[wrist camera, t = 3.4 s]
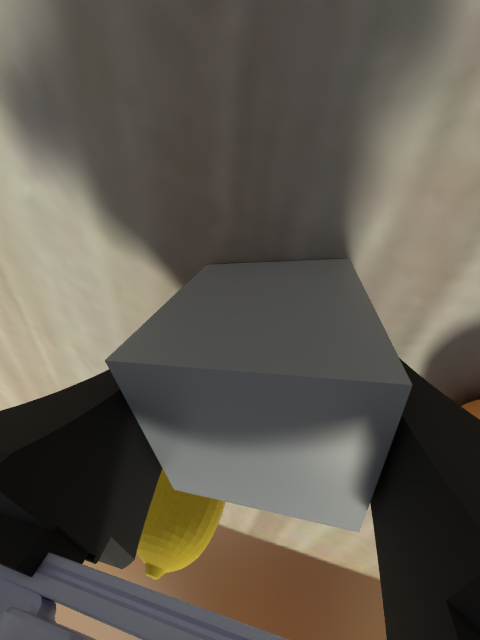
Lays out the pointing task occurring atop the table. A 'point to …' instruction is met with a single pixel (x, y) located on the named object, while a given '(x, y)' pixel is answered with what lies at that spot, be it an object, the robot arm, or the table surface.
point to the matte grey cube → (269, 388)
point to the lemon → (176, 528)
